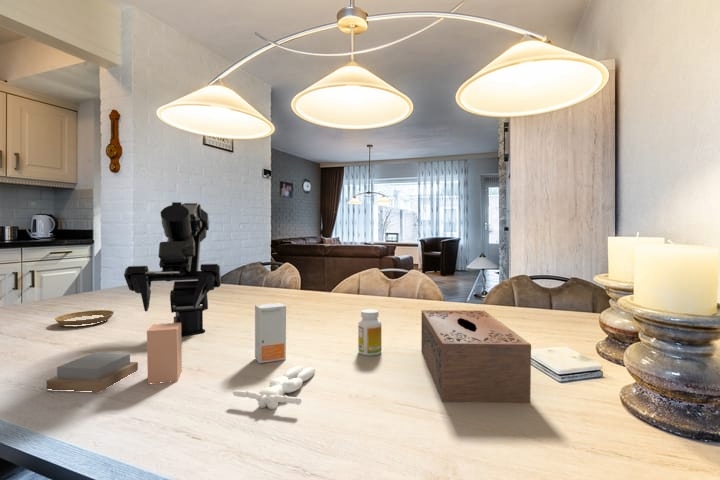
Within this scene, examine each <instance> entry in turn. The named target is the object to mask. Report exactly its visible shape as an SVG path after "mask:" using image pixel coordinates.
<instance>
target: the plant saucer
mask: <svg viewBox="0 0 720 480" xmlns="http://www.w3.org/2000/svg"><path fill="white" fill-rule="evenodd" d="M114 314H115V311H114V310H109V309H108V310H107V309H106V310H105V309H104V310H103V309H98V310H96V309H95V310H84V311H78V312H77V311H76V312H71V313H66V314H63V315H58V316H57V317H55V318H54V321H56V323H58V324H59V325H61V324H62V325H61V326H63V325H82V324H91V323H97V322H101V321H105V320H107V321H108V320H109V319H111V317H113V315H114ZM92 315H103V316H104V317H99V318H94V319H86V320H76V321H64V320H67V319H71V318H75V317H82V316H92Z"/></svg>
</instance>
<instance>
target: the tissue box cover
mask: <svg viewBox="0 0 720 480" xmlns="http://www.w3.org/2000/svg"><path fill="white" fill-rule="evenodd" d="M420 346H421V351H420V352H421V354H422V356H423V359H424V362H425V363H426V366H427V368H428V371H429V373H430V376H431V379H432V381H433V383H434V385H435V388H436V390H437V393H438V395H439V398H440V400H441V402H442V403H479V404H481V403H487V404H488V403H489V404H490V403H491V404H493V403H495V404H498V403H499V404H531V396H532V395H531V393H532V391H531V386H532V385H531V383H532V382H531V380H532V379H531V377H532V370H531V369H532V344H531V343H530V342H528V341H527V340H526V339H524V338H523V337H522V336H520V335H519V334H517V333H516V332H515V331H514V330H512V329H510V328H509V327H507V326H506V325H505V324H503V323H502V322H501V321H499V320H497V319H496V318H495V317H493V316H492V315H490V314H489V313H488V312H486V311H485V310H477V309H476V310H463V309H462V310H458V309H456V310H455V309H452V310H450V309H444V310H443V309H441V310H437V309H436V310H435V309H433V310H432V309H428V310H427V309H423V310H422V309H421V345H420Z"/></svg>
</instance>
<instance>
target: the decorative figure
mask: <svg viewBox="0 0 720 480" xmlns="http://www.w3.org/2000/svg"><path fill="white" fill-rule="evenodd" d="M315 372H316V368H314V367H312V366H309V367H306V368H303V366H301V365H296V366H292V367H290V368H289V369H287V370H286V371H285V372H284V374H283V376H278V377H275V378H272V379H271V380H270V382H269V387H264V388H261V390H260V391H259V392H255V391H250V390H246V391H245V390H239V389H237V390H234V391H232V395H233V396H235V397H237V398H249V399H254V400H256V401H257V405H258V407H259V408H260V409H264V408H266V407H267V408H268V409H269V410H275V409H277V408H278V406H279V403H287V404H292V405H293V404H295V405H301V403H302V398H301V397H299V396H297V397H295V396H288V395H286V394H285V393H287V394H289V393H292V392H293V393H294V392H295V391H297V390H299V389H300V388H301V387H302V386H303V382H305V381H308V380H309V379H311V378H312V377H313V376H314V374H315Z"/></svg>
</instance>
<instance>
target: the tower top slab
mask: <svg viewBox="0 0 720 480" xmlns="http://www.w3.org/2000/svg"><path fill="white" fill-rule="evenodd" d="M130 362H131V353H118V352H117V353H115V352H113V353H111V352H91V353H89V354H86V355H83V356H81V357H78V358H76V359H73V360H71V361H68V362H66V363H64V364H61V365H59V366H56V376H57V378H66V379H86V380H99V379H101V378H103V377H105V376H107V375H109V374H111V373H113V372H115V371H117V370H119V369H121V368H123V367H125V366H127V365H129V364H130Z"/></svg>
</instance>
